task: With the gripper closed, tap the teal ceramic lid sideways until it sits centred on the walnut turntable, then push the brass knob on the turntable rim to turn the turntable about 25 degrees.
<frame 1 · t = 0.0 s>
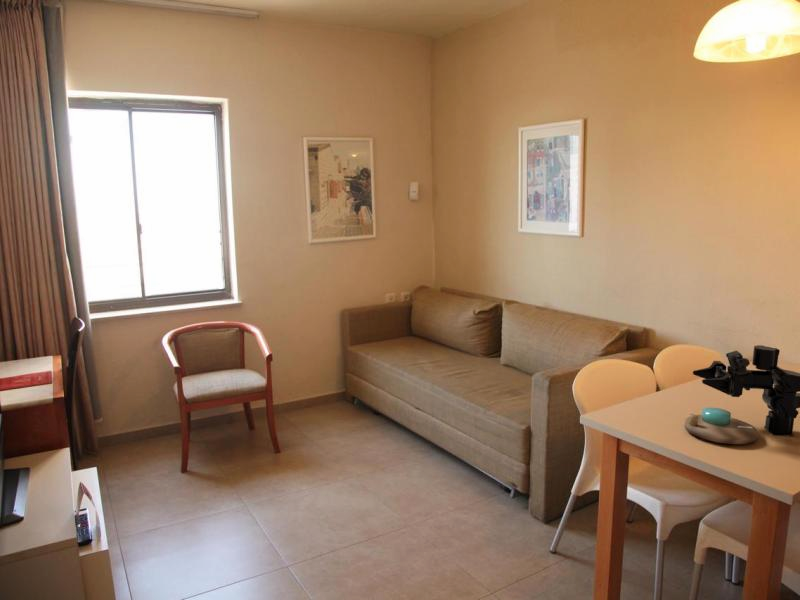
hand: (697, 376, 196), 16 cm above the table, tool horizontal, fingers open, 9 cm apart
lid: (715, 420, 197), point 2 cm above the table, touching turntable
turntable: (720, 423, 192), point 3 cm above the table, hinge at 0.0°, touching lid
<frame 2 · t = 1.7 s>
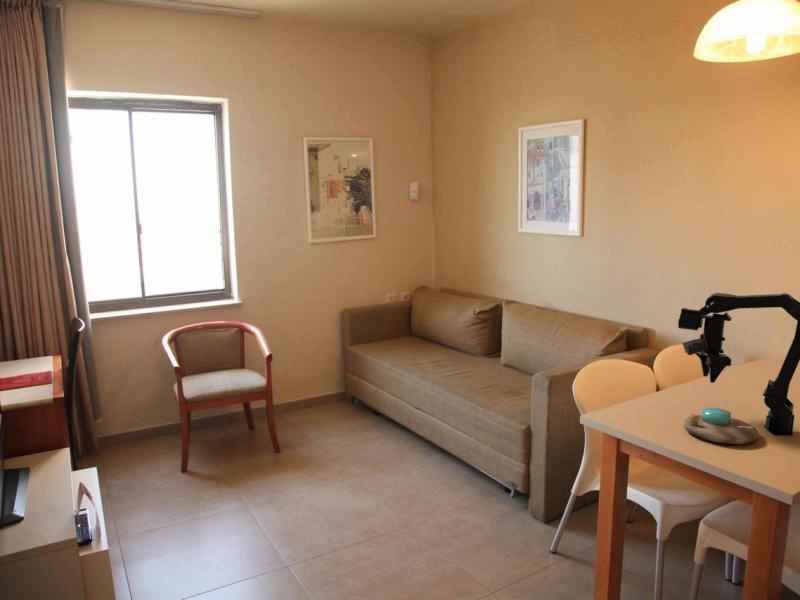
hand: (708, 379, 204), 13 cm above the table, tool pointing down, fingers open, 6 cm apart
nothing on the table moved.
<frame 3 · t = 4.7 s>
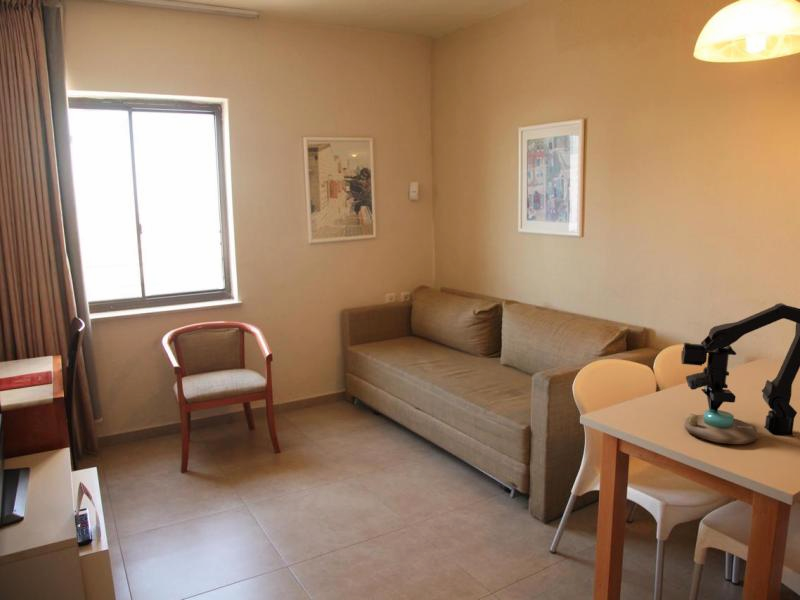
hand: (712, 414, 200), 4 cm above the table, tool pointing down, fingers closed
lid: (718, 423, 195), point 2 cm above the table, touching gripper, turntable
everything else where it was.
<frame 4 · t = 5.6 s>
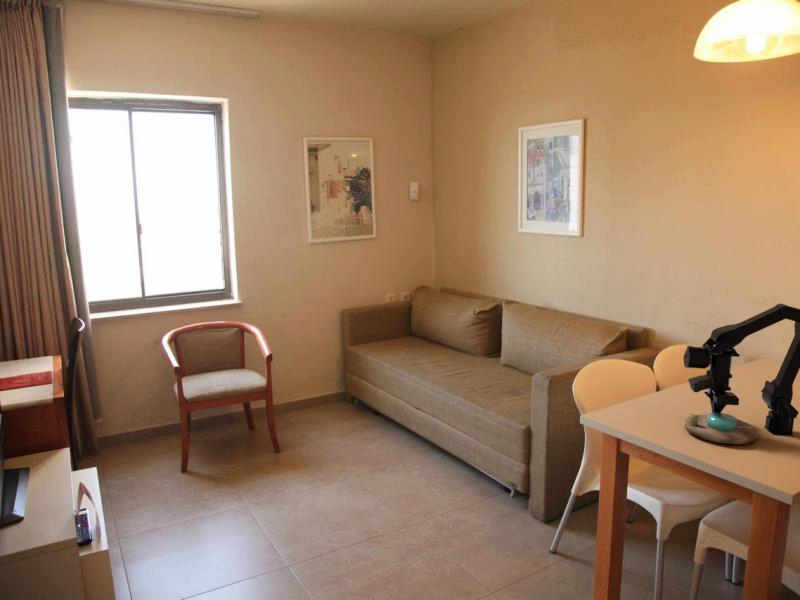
hand: (715, 417, 197), 4 cm above the table, tool pointing down, fingers closed
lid: (721, 426, 192), point 2 cm above the table, touching turntable
everything else where it was.
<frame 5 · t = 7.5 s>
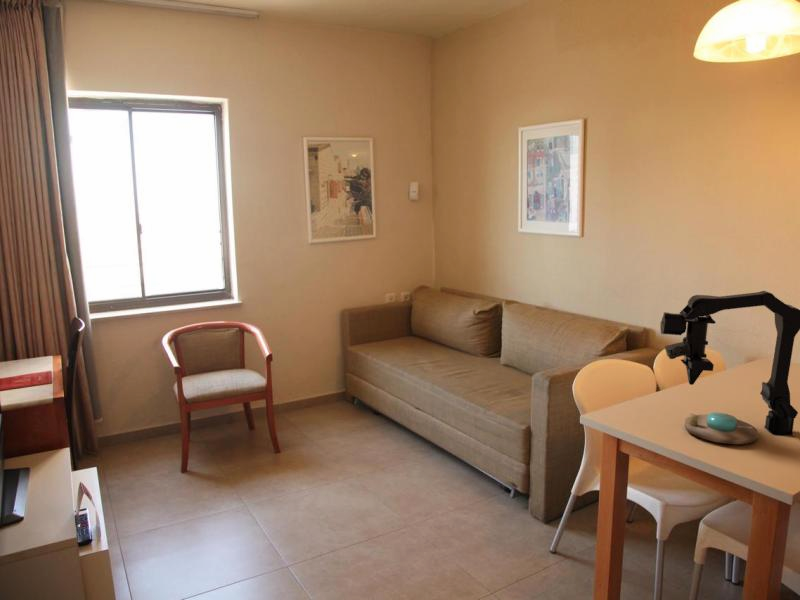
hand: (691, 384, 198), 13 cm above the table, tool pointing down, fingers closed
nothing on the table moved.
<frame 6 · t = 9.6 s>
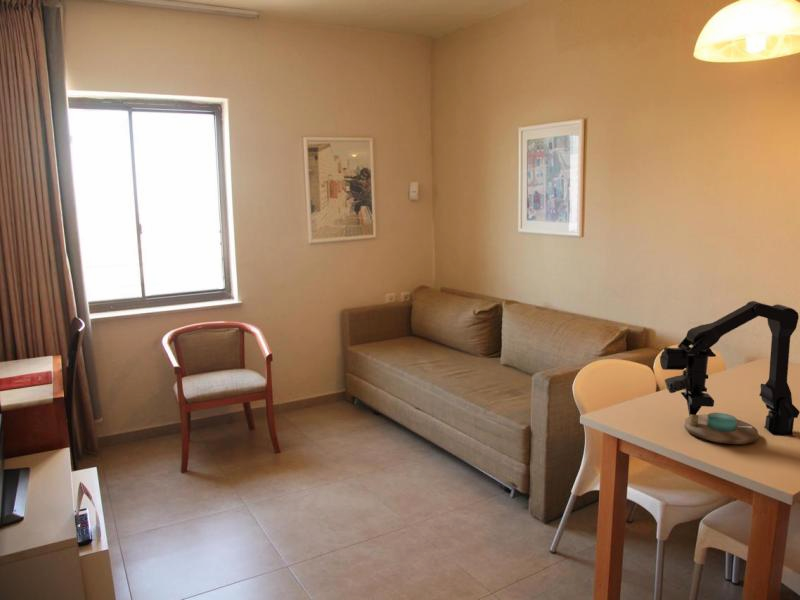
hand: (691, 417, 195), 4 cm above the table, tool pointing down, fingers closed
turntable: (720, 423, 192), point 3 cm above the table, hinge at 1.5°, touching gripper, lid
everything else where it was.
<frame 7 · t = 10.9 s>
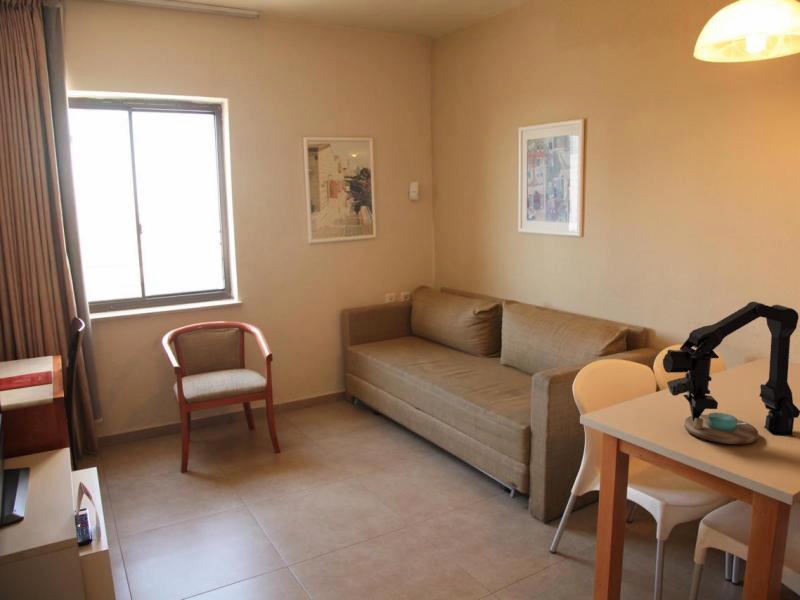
hand: (694, 420, 193), 4 cm above the table, tool pointing down, fingers closed
turntable: (720, 423, 192), point 3 cm above the table, hinge at 21.5°, touching gripper, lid
everything else where it was.
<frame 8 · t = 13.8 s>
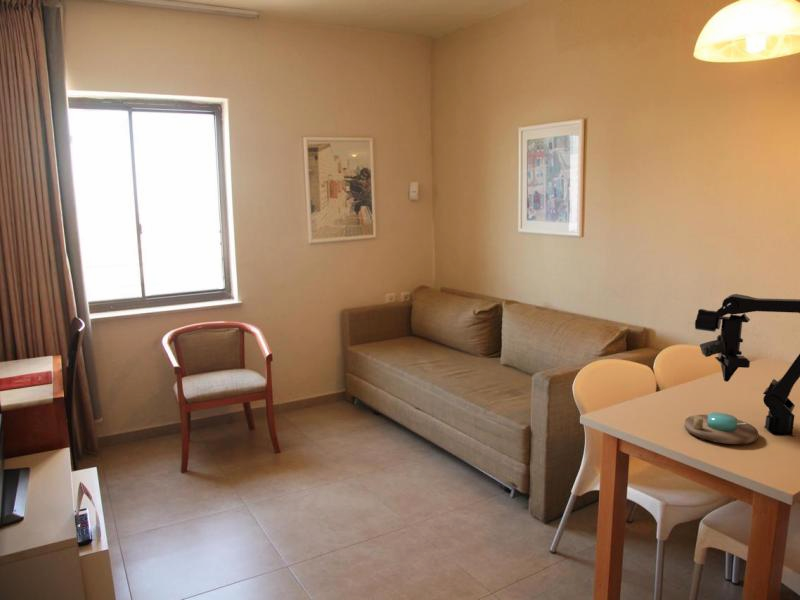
hand: (726, 381, 203), 13 cm above the table, tool pointing down, fingers closed
turntable: (720, 423, 192), point 3 cm above the table, hinge at 21.5°, touching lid
everything else where it was.
at the end: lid 0.3 cm from the turntable (horizontally); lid touching turntable; turntable at +22° (first picture: +0°) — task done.
